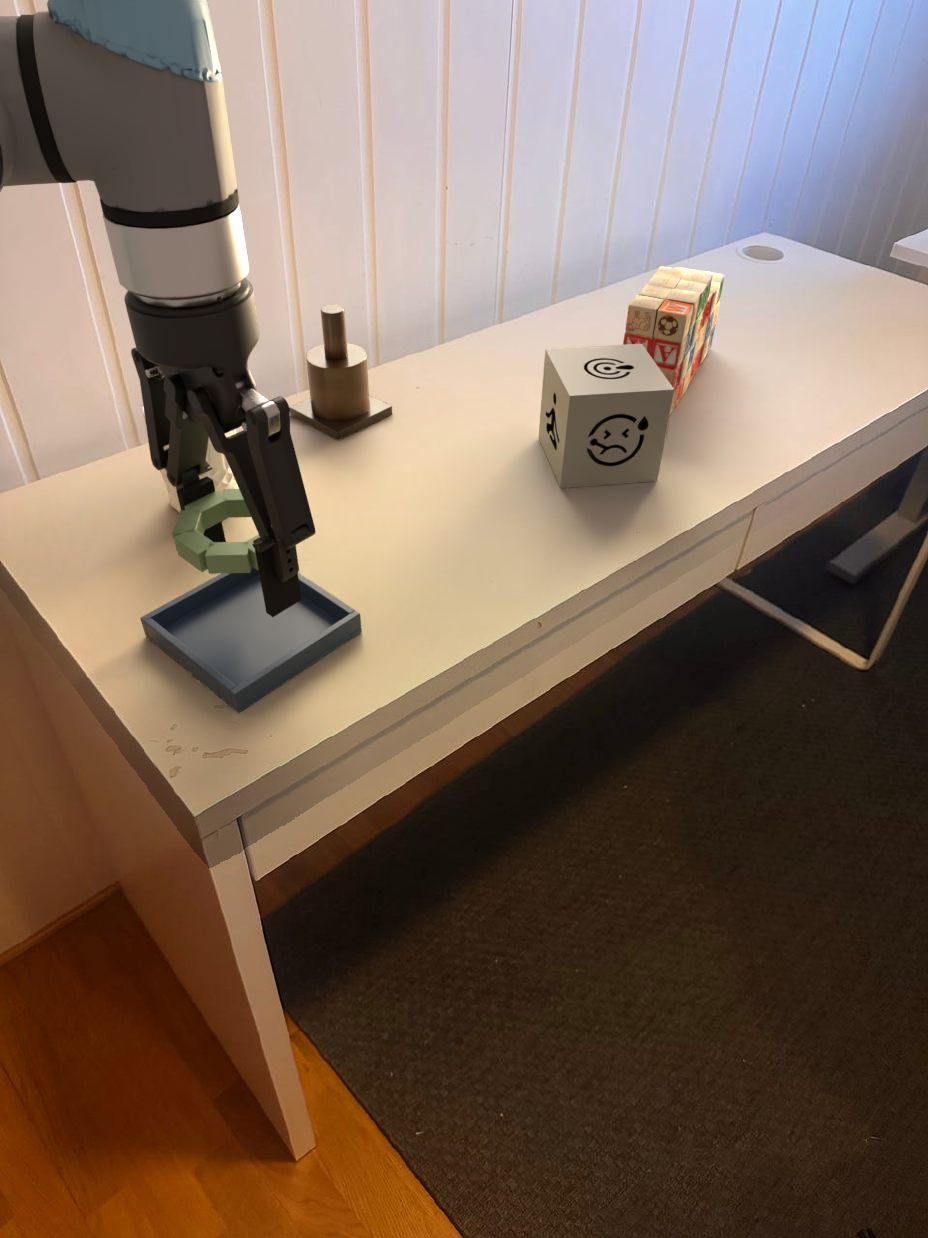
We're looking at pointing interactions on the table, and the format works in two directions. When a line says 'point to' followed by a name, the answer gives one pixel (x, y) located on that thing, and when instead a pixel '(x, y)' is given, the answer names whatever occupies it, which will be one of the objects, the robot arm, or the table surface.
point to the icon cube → (603, 415)
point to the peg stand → (338, 383)
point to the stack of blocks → (676, 322)
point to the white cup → (218, 474)
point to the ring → (203, 549)
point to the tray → (248, 634)
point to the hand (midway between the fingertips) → (246, 579)
